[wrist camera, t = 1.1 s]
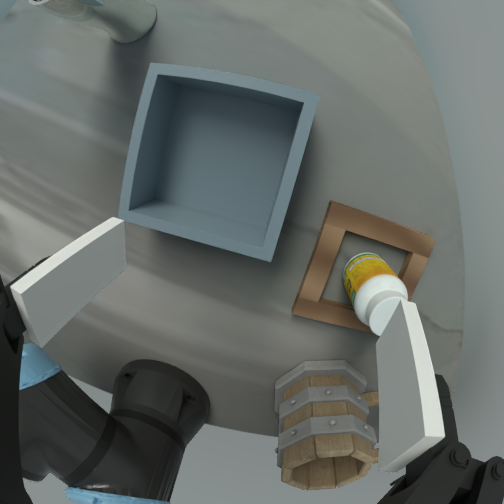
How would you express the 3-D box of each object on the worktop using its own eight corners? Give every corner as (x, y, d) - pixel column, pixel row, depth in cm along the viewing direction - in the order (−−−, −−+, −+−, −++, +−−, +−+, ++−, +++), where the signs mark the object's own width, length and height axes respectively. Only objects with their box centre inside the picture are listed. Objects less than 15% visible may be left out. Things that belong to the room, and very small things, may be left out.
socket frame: (387, 331, 34) (390, 336, 32) (291, 308, 34) (292, 314, 32) (431, 236, 29) (435, 239, 28) (330, 200, 29) (332, 202, 28)
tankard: (274, 418, 41) (269, 500, 26) (275, 359, 36) (270, 456, 22) (395, 410, 39) (418, 483, 25) (417, 351, 34) (458, 431, 20)
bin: (272, 237, 31) (270, 262, 24) (148, 203, 31) (117, 218, 24) (310, 107, 26) (320, 94, 20) (177, 79, 26) (150, 62, 20)
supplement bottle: (392, 281, 31) (424, 325, 22) (352, 302, 33) (372, 353, 24) (376, 242, 30) (410, 278, 21) (333, 264, 31) (352, 309, 22)
